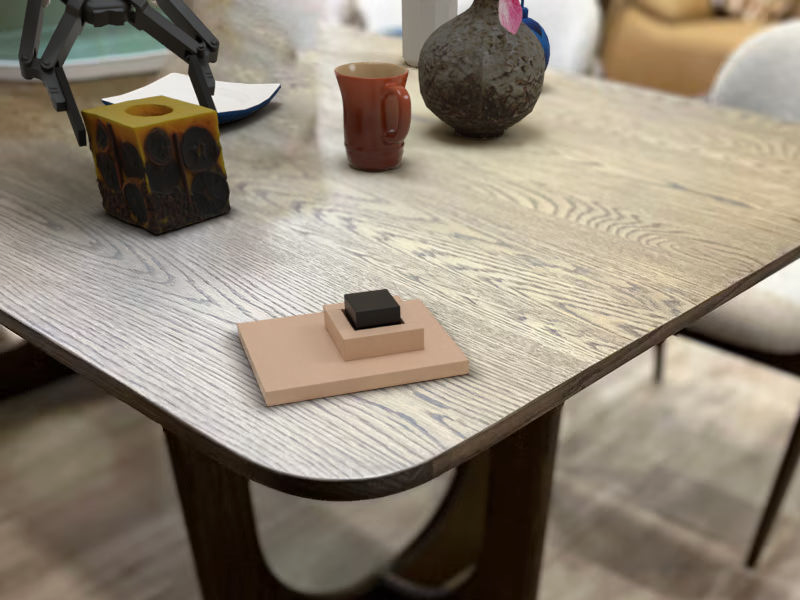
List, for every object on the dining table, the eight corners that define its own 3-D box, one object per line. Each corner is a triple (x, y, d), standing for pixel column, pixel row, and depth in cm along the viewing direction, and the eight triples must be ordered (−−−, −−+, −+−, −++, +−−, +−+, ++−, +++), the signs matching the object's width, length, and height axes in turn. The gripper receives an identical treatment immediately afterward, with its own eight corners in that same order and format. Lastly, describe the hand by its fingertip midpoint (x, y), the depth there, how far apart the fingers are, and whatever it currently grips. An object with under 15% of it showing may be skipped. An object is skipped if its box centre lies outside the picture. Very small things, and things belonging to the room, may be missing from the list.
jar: (407, 70, 146) (405, -62, 133) (398, 58, 153) (395, -68, 140) (462, 68, 147) (465, -62, 135) (450, 57, 154) (453, -68, 142)
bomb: (470, 89, 136) (474, -25, 126) (511, 79, 142) (518, -32, 132) (518, 100, 131) (525, -18, 121) (558, 89, 137) (569, -25, 127)
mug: (327, 160, 106) (320, 66, 99) (386, 150, 110) (383, 59, 103) (376, 186, 99) (373, 87, 92) (437, 175, 103) (438, 78, 96)
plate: (224, 137, 113) (221, 115, 111) (95, 121, 118) (89, 100, 116) (292, 103, 127) (290, 82, 126) (174, 90, 132) (170, 70, 130)
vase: (479, 111, 126) (489, -158, 106) (569, 136, 117) (599, -153, 97) (395, 131, 117) (389, -159, 97) (485, 159, 108) (500, -154, 88)
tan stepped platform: (267, 406, 62) (261, 369, 60) (238, 336, 70) (233, 302, 68) (468, 373, 66) (470, 337, 64) (419, 311, 74) (419, 278, 72)
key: (357, 334, 65) (355, 312, 64) (344, 315, 68) (343, 293, 67) (401, 327, 66) (400, 306, 65) (387, 309, 69) (386, 288, 68)
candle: (156, 237, 86) (133, 129, 79) (100, 213, 91) (74, 109, 84) (235, 212, 92) (220, 109, 85) (179, 191, 97) (160, 92, 90)
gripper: (-63, -97, 78) (18, 121, 79) (198, -102, 88) (269, 94, 88) (-48, -33, 85) (27, 167, 86) (193, -44, 95) (258, 137, 95)
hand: (150, 130), depth 87 cm, fingers open, 13 cm apart
